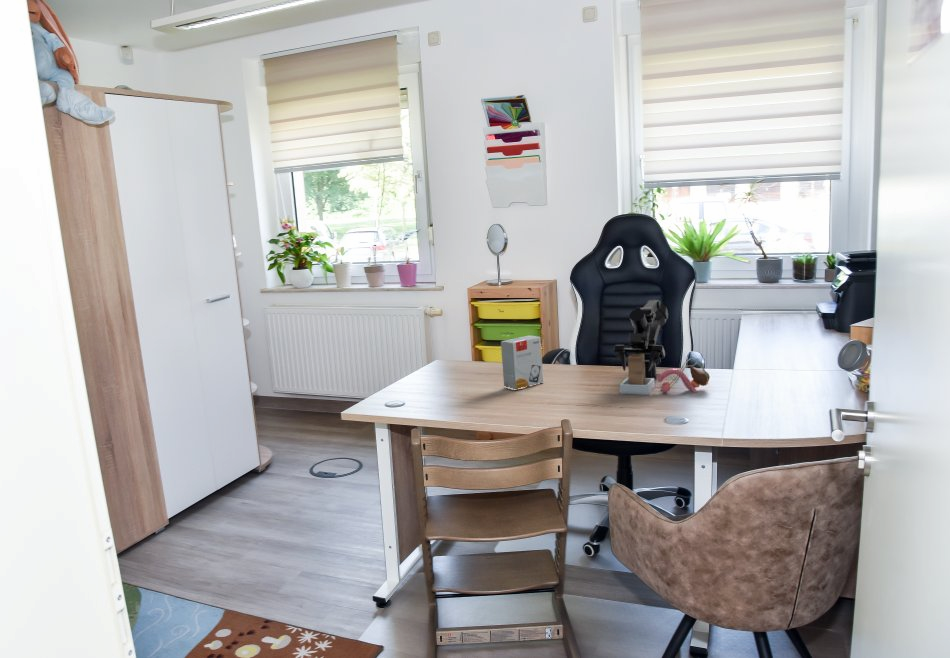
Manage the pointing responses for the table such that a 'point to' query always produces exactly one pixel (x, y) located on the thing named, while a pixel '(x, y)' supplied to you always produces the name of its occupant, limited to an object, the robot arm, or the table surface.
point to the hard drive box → (522, 361)
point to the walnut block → (636, 369)
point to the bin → (637, 387)
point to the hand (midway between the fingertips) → (636, 370)
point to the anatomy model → (685, 377)
